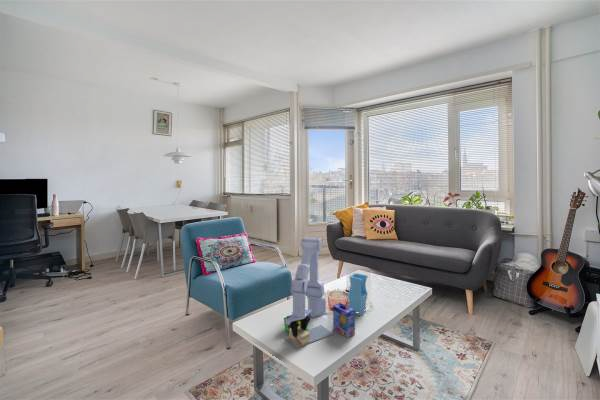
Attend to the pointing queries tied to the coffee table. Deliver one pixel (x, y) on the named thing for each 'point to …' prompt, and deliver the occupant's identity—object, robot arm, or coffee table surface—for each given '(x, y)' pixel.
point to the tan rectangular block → (300, 336)
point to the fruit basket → (289, 325)
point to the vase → (358, 293)
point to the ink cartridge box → (344, 319)
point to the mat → (312, 336)
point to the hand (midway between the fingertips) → (299, 334)
